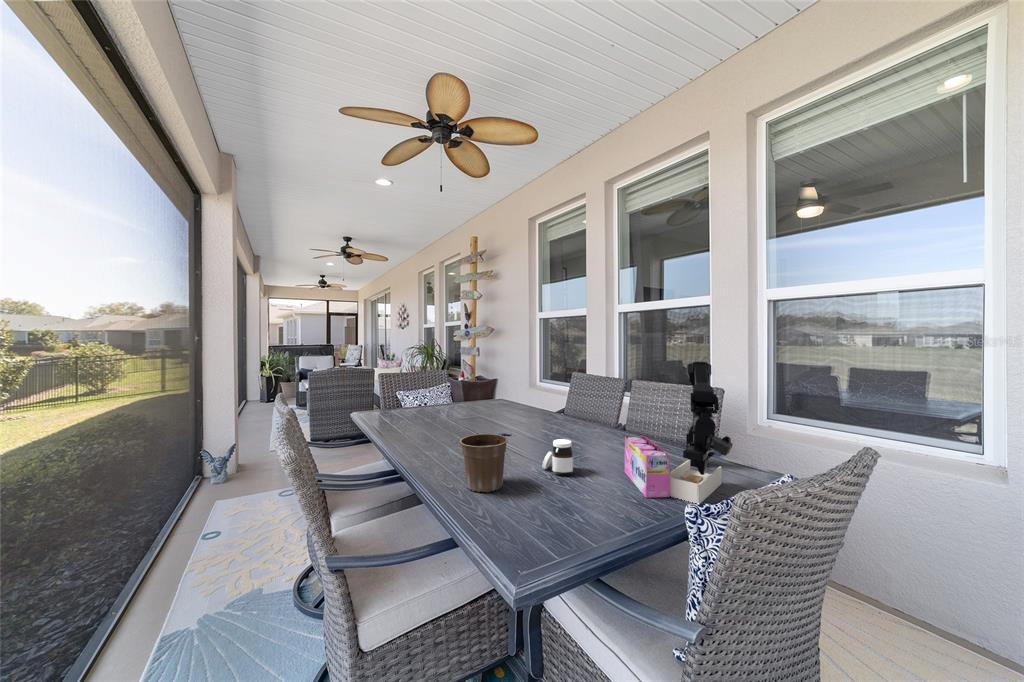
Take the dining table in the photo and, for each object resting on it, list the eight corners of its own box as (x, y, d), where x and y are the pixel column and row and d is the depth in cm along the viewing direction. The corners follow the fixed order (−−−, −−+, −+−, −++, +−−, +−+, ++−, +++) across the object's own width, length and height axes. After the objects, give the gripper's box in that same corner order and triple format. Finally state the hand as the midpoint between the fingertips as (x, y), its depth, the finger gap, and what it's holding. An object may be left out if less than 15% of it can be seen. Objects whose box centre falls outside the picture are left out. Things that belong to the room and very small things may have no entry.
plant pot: (450, 486, 138) (450, 440, 138) (485, 474, 150) (484, 430, 150) (483, 500, 127) (482, 449, 127) (517, 485, 139) (517, 438, 139)
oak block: (685, 489, 128) (685, 477, 128) (690, 486, 131) (690, 473, 131) (698, 493, 125) (698, 480, 125) (703, 489, 128) (703, 476, 128)
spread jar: (574, 477, 146) (574, 445, 146) (543, 477, 146) (542, 445, 146) (570, 466, 158) (570, 436, 158) (541, 466, 158) (541, 436, 158)
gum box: (622, 471, 152) (622, 435, 151) (643, 470, 152) (643, 434, 151) (645, 498, 128) (646, 455, 127) (670, 497, 128) (670, 454, 127)
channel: (663, 494, 131) (663, 476, 131) (688, 476, 147) (688, 459, 147) (699, 504, 123) (699, 485, 123) (721, 483, 139) (721, 466, 139)
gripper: (720, 438, 121) (719, 489, 122) (737, 426, 135) (737, 472, 135) (682, 431, 129) (682, 480, 129) (702, 421, 142) (702, 465, 143)
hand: (702, 474), depth 134 cm, fingers closed
